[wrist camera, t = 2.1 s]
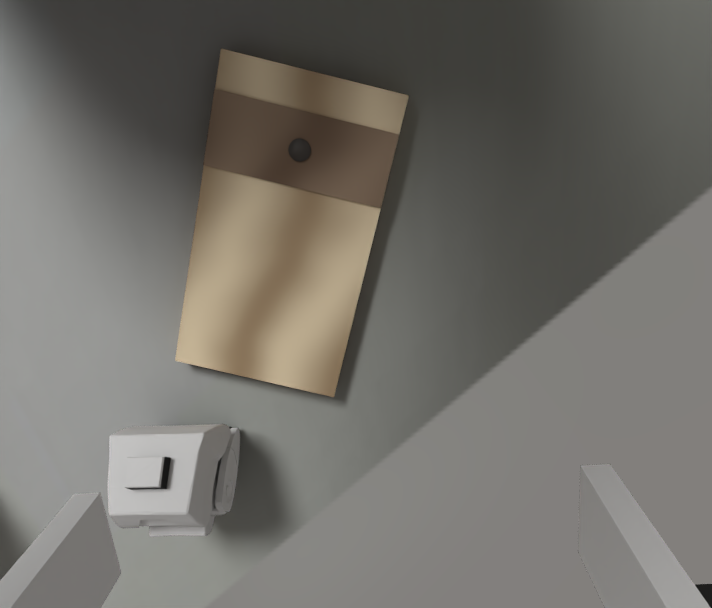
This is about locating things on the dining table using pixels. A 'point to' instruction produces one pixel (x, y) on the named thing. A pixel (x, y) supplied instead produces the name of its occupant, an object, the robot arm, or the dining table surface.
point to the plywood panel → (285, 220)
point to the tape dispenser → (172, 477)
